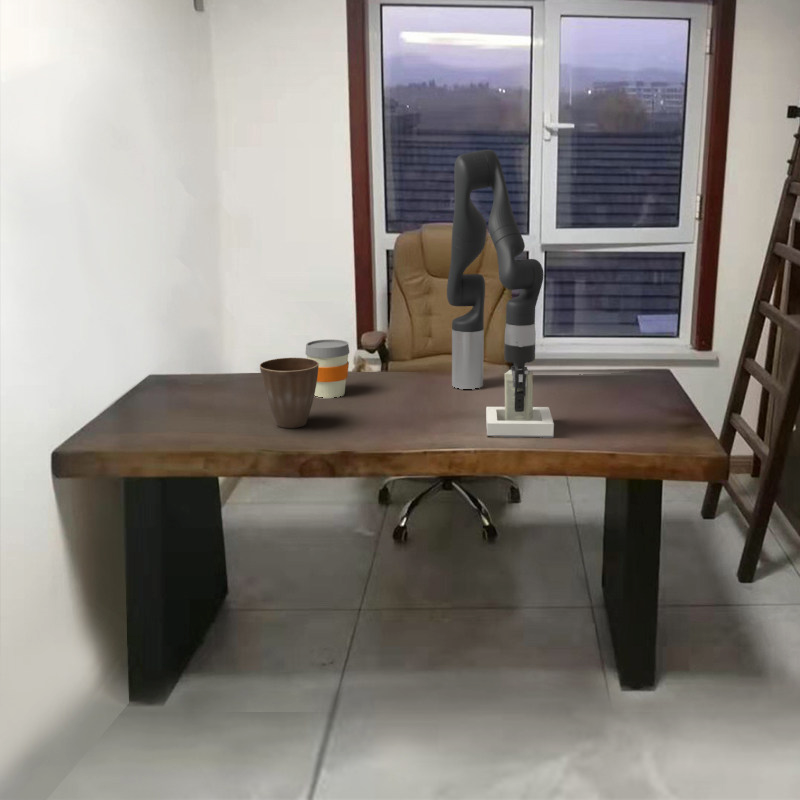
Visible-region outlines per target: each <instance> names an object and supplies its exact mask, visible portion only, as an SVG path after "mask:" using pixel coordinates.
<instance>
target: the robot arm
mask: <svg viewBox="0 0 800 800" xmlns="http://www.w3.org/2000/svg"><path fill="white" fill-rule="evenodd" d="M453 172H454V173H453V174H454V180H453V181H454V182H453V183H454V208H453V209H454V211H453V219H452V220H453V221H452V228H451V229H452V230H451V246H450V247H451V250H450V252H451V253H450V255H451V256H450V266H449V271H448V278H447V285H446V298H447V302H448V304H449V305H450V306H453V307H471V310H469V311H468V312H466V313H465V314H464V315H461V316H458V317H455V318H453V320H452V322H451V387H452V386H453V387H452V388H454V387H455V388H454V389H457V388H459V389H458V390H463V389H472V390H476V389H475V388H479V389H481V388H480V387H482V386H483V387H484V347H485V346H484V341H485V340H484V337H485V336H484V333H485V332H484V324H485V323H484V322H485V321H484V320H485V318H484V317H485V315H484V314H485V313H484V312H485V296H486V295H485V294H486V282H485V281H486V280H485V278H484V276H483V274H480V273H472V274H471V273H469V274H468V273H467V274H465V271H466V270H467V268H468V267H469V266H470V265H471V264H472V263H473V262H474V261H476V259H478V257H479V256H480V255H481V253H483V250H484V249H485V246H486V241H487V233H488V232H489V236H490V239H491V241H492V243H493V246H494V248H495V251H496V256H497V265H498V278H499V281H500V283H501V285H502V286H503V287H504V288H505V289H507V290H510V291H514V290H515V291H516V290H517V291H518V290H521V291H520V293H519V295H518V296H516V297H514V298H511V299H509V300H508V301H507V302H506V307H505V308H506V310H505V329H504V351H503V352H504V356H503V357H504V359H503V360H505V361H506V362H507V363H512V366H511V367H510V370H511V371H512V376H513V388H515V393H514V396H515V411H516V412H523V411H524V397H525V395H526V393H525V387H526V386H527V381H526V374H528V371H529V369H528V366H526V364H527V363H533V362H534V361H535V360H536V338H537V337H536V332H537V331H536V306H537V302H538V299H539V297H540V293H541V289H542V285H543V283H544V276H545V275H544V268H543V265H542V264H541V262H539V261H538V260H537V259H535V258H527V259H524V258H523V259H515V258H516V257H518V256H519V255H522V253H523V252H524V250H525V247H526V246H525V245H526V244H525V241H524V238H523V236H522V233H521V231H520V228H519V226H518V224H517V220H516V219H515V216H514V212H513V209H512V205H511V200H510V196H509V192H508V187H507V183H506V180H505V176H504V172H503V168H502V164H501V162H500V159H499V156H498V154H496V152H495V151H494V150H492V149H483V150H477V151H472V152H466V153H463V154H460V155H458V156H457V158H456V159H455V163H454V171H453ZM486 188H491V190H492V193H493V200H492V201H493V202H492V206H491V210H490V214H489V216H488V217H489V218H488V227H487V221H486V219H485V217H484V216H483V214H482V213H481V211H480V210H478V208H477V207H476V205H475V204H474V203H473V202H472V200H471V193H472V191H476V190H477V191H478V190H482V189H486ZM487 229H488V232H487ZM483 387H482V388H483ZM518 388H523V391H517V389H518Z"/></svg>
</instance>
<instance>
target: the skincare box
mask: <svg viewBox="0 0 800 800" xmlns="http://www.w3.org/2000/svg"><path fill="white" fill-rule="evenodd" d="M533 374H534V372H533V370H528V374H526V381H527V386H526V387H525V393H526V395H525V397H524V411H523V412H516V411H515V396H514V393H515V388H513V376H512V371H511V369H509V370H508V371H506V372H504V407H505V420H510V421H530V420H531V419H532V418H533V407H534V406H533V405H534V387H533V386H534V383H533V381H534V376H533ZM517 391H523V388H518V389H517Z"/></svg>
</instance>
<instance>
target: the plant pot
mask: <svg viewBox="0 0 800 800" xmlns="http://www.w3.org/2000/svg"><path fill="white" fill-rule="evenodd" d="M318 367H319V363H318V362H317V361H316V360H312V359H307V358H305V357H281V358H274V359H269V360H266V361H263V362H260V364H259V370H260V374H261V380H262V385H263V388H264V393H265V396H266V398H267V402H268V405H269V408H270V410H271V413H272V416H273V418H274V421H275V423H276V425H277V426H278V427H280V428H286V429H295V428H297V429H298V428H301V427H303V426H305V425H306V424H307V422H308V419H309V416H310V412H311V409H312V406H313V402H314V397H315V396H314V394H315V389H316V383H317V376H318Z"/></svg>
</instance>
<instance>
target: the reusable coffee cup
mask: <svg viewBox="0 0 800 800" xmlns="http://www.w3.org/2000/svg"><path fill="white" fill-rule="evenodd" d="M305 355H306V357H307V359H312V360H316V361H317V362H318V363H319V367H318V376H317V383H316V389H315V394H314V395H315V396H318V397H323V398H322V399H335V398H334V397H337V398H341V397H343V396H345V392H346V382H347V378H348V377H349V376H348V375H349V367H350V366H349V363H350V361H349V360H348V359H349V355H350V346H349V342H348V341H346V340H343V339H318V340H311V341H308V342H306V344H305ZM315 396H314V397H315ZM340 396H341V397H340ZM318 397H317V398H318Z"/></svg>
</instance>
